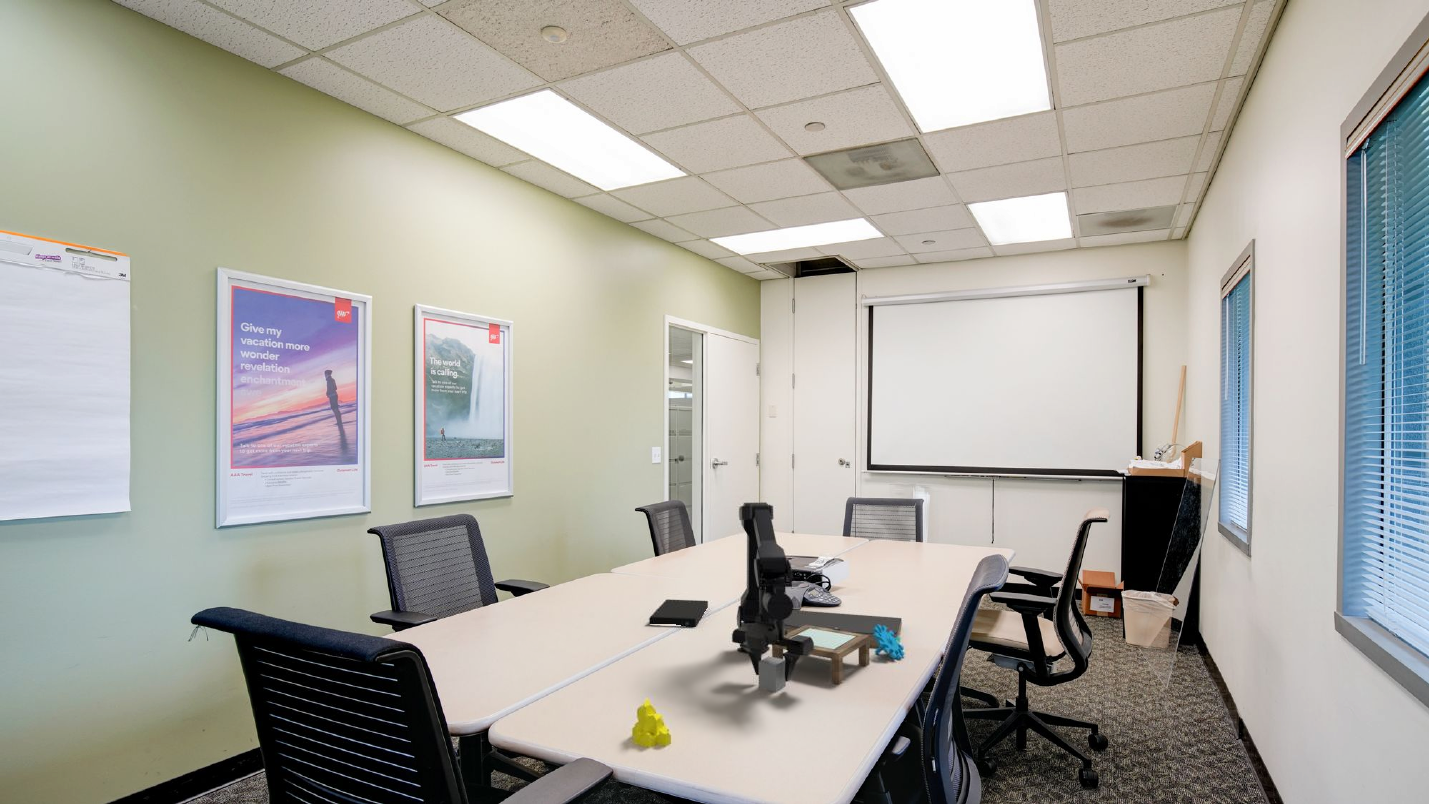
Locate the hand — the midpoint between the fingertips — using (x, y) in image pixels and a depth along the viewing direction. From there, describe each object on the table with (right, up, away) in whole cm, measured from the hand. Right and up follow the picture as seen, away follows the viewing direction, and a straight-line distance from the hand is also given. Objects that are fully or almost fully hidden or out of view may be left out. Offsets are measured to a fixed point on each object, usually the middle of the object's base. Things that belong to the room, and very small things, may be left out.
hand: (772, 678), depth 160 cm
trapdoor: (+13, +3, +14) cm, 20 cm away
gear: (+32, -3, +22) cm, 40 cm away
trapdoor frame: (+13, -3, +14) cm, 19 cm away
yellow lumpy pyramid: (-25, -1, -28) cm, 37 cm away
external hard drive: (-24, -6, +62) cm, 67 cm away
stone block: (0, -2, 0) cm, 2 cm away
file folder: (+24, -5, +44) cm, 50 cm away
